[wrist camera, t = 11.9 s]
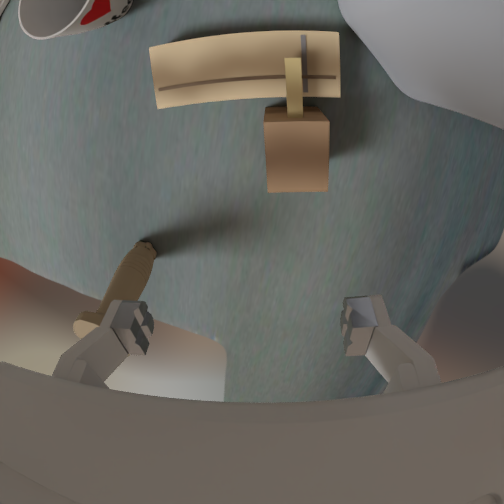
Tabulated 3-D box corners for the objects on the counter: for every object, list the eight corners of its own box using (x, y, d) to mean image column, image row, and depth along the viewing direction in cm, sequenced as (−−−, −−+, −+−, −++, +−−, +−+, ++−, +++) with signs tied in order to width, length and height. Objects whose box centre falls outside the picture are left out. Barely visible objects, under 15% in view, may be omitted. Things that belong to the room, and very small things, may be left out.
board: (162, 47, 23) (148, 47, 21) (331, 34, 22) (339, 32, 19) (169, 102, 27) (157, 109, 24) (332, 92, 25) (340, 97, 23)
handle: (131, 224, 36) (77, 312, 24) (174, 250, 38) (136, 346, 26) (119, 248, 39) (70, 334, 27) (159, 272, 41) (122, 363, 29)
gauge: (262, 58, 24) (258, 59, 18) (315, 57, 24) (328, 58, 18) (269, 163, 31) (267, 192, 25) (317, 162, 30) (327, 191, 25)
